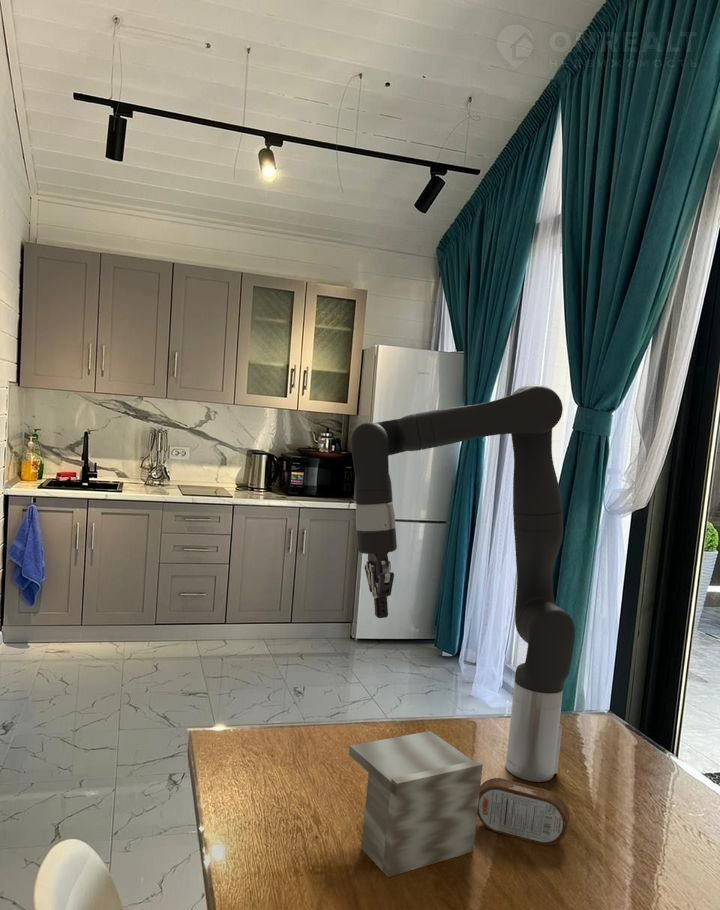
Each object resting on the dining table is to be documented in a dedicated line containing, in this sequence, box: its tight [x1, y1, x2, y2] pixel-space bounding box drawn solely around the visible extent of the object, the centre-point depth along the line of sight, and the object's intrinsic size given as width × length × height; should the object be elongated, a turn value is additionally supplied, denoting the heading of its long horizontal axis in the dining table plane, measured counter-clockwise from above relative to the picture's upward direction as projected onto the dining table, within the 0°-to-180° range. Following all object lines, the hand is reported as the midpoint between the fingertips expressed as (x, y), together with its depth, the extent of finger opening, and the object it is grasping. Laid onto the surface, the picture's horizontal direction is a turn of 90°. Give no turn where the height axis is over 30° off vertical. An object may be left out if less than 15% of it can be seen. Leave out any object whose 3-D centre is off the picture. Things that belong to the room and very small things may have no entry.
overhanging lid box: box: [348, 730, 484, 878], centre depth 115 cm, size 16×14×14 cm
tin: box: [477, 777, 570, 846], centre depth 119 cm, size 15×3×8 cm, turn 71°
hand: (381, 616), depth 139 cm, fingers closed
